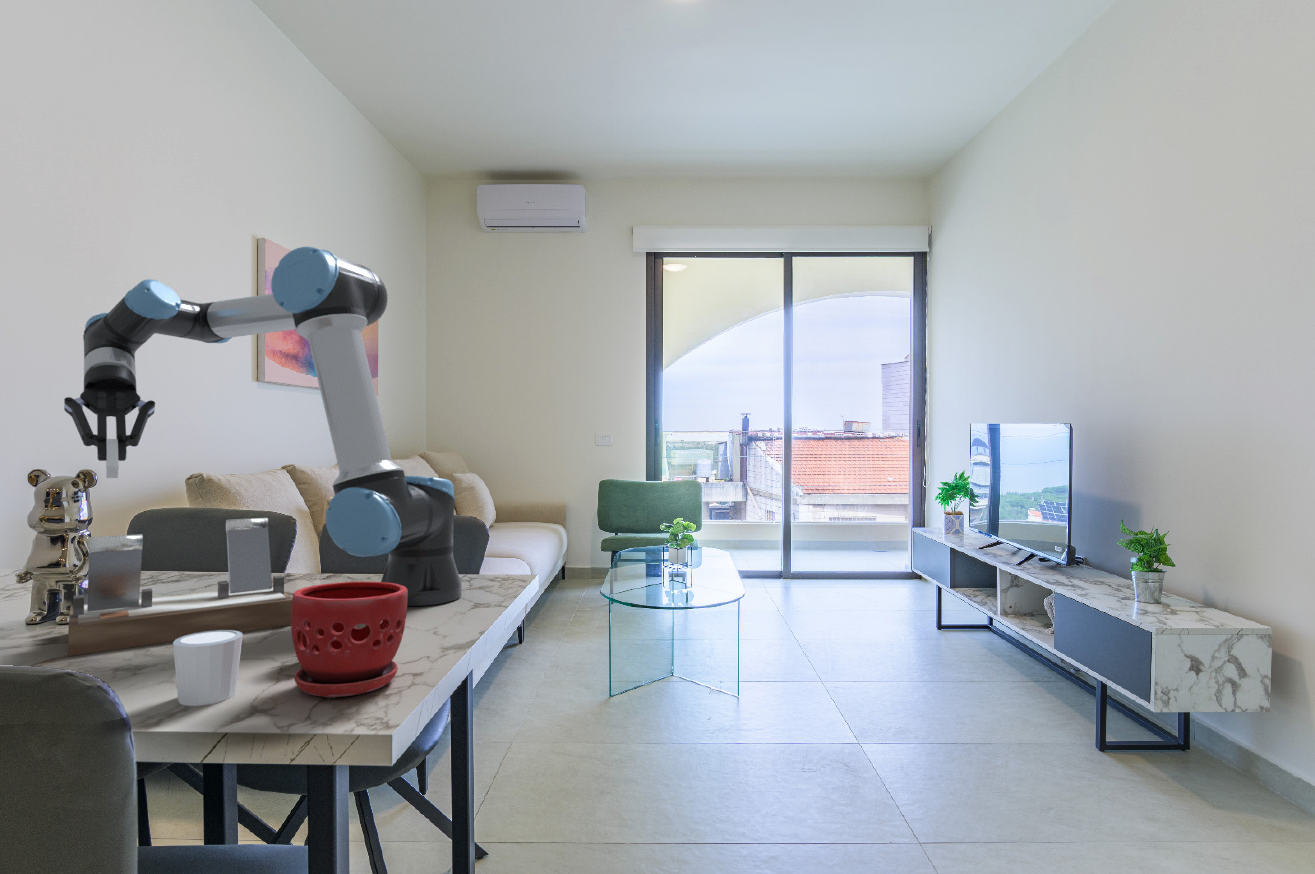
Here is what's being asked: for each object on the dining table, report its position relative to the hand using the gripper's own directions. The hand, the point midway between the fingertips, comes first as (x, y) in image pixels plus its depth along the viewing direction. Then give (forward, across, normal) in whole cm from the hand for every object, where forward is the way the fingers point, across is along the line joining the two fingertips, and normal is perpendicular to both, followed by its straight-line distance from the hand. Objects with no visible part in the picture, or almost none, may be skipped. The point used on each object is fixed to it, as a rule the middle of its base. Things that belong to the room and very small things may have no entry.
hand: (112, 472), depth 114 cm
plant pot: (+57, -22, +22) cm, 64 cm away
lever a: (+24, -18, -4) cm, 30 cm away
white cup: (+52, -8, +18) cm, 56 cm away
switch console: (+27, -9, -7) cm, 29 cm away
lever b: (+24, 0, -4) cm, 24 cm away
